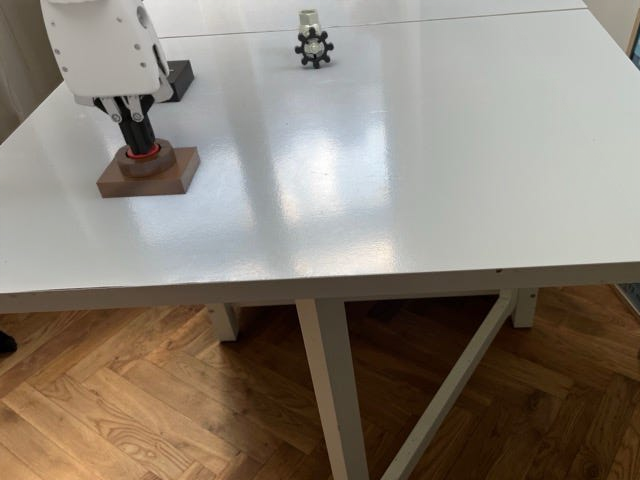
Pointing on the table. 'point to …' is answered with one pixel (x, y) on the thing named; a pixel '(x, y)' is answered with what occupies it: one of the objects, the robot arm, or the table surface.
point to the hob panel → (178, 79)
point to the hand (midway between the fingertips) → (143, 148)
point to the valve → (312, 38)
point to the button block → (150, 172)
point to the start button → (151, 152)
